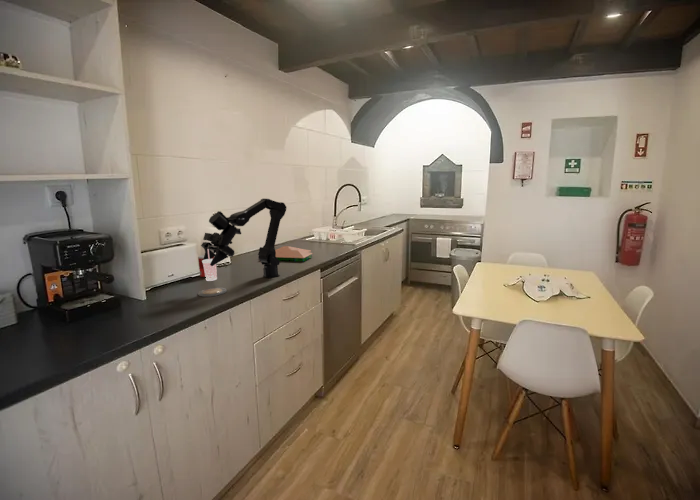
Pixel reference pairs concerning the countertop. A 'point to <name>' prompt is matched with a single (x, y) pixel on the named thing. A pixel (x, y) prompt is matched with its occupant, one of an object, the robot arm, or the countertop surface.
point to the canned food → (201, 265)
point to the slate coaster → (212, 292)
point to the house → (292, 253)
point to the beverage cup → (209, 269)
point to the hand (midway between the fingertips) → (206, 264)
